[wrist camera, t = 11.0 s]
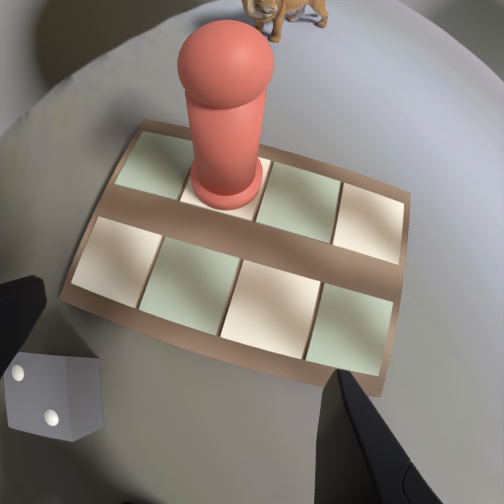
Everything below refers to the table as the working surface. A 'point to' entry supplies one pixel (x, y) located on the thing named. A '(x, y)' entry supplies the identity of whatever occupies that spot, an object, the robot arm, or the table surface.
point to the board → (248, 262)
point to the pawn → (225, 109)
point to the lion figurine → (281, 13)
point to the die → (54, 395)
